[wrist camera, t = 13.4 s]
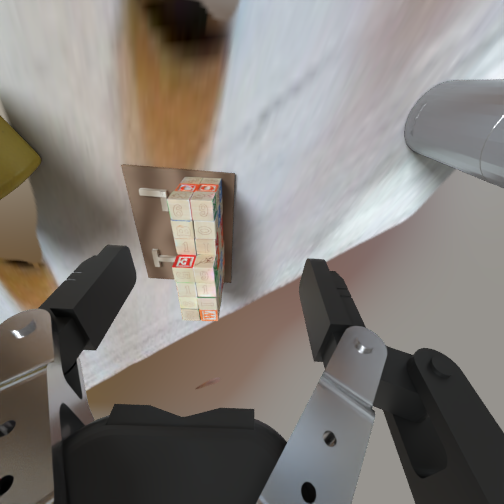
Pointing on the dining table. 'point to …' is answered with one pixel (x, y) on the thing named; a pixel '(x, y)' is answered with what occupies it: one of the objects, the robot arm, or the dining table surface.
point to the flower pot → (14, 159)
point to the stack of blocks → (198, 246)
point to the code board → (158, 218)
